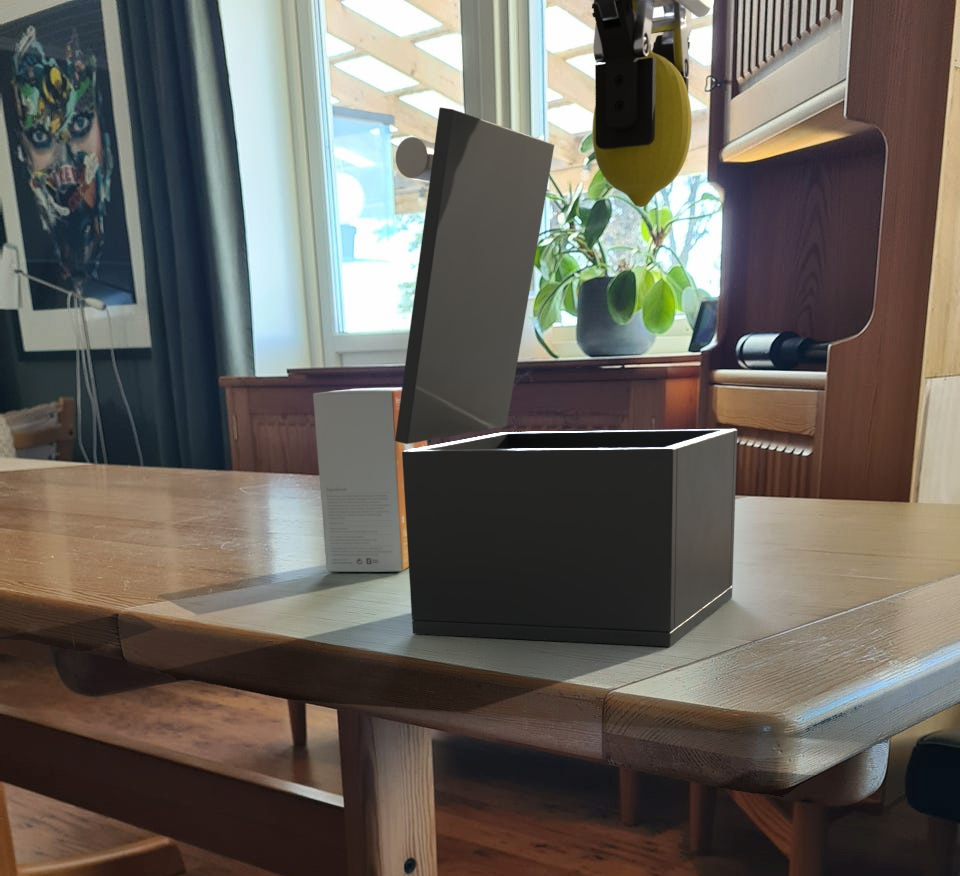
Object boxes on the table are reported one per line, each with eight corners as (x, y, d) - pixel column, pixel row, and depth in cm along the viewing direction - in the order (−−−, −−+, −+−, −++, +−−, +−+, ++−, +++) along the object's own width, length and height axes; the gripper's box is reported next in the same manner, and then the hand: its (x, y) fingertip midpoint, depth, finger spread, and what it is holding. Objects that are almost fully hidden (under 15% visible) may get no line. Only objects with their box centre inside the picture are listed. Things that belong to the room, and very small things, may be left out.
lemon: (585, 206, 72) (584, 40, 69) (601, 214, 77) (601, 60, 74) (684, 199, 70) (687, 29, 67) (694, 208, 75) (698, 50, 72)
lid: (555, 144, 76) (473, 130, 78) (453, 109, 64) (359, 93, 66) (506, 426, 84) (433, 408, 85) (407, 444, 71) (323, 423, 73)
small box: (403, 573, 96) (392, 389, 91) (324, 573, 98) (309, 391, 93) (435, 556, 103) (426, 385, 99) (361, 556, 105) (349, 387, 100)
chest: (732, 598, 82) (737, 428, 78) (670, 647, 69) (673, 448, 66) (506, 590, 88) (501, 432, 84) (412, 634, 75) (401, 451, 72)
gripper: (668, -335, 57) (662, 126, 64) (756, -202, 72) (744, 163, 78) (513, -295, 60) (523, 142, 67) (628, -175, 75) (627, 174, 81)
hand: (642, 149), depth 72 cm, fingers closed on lemon, 5 cm apart
